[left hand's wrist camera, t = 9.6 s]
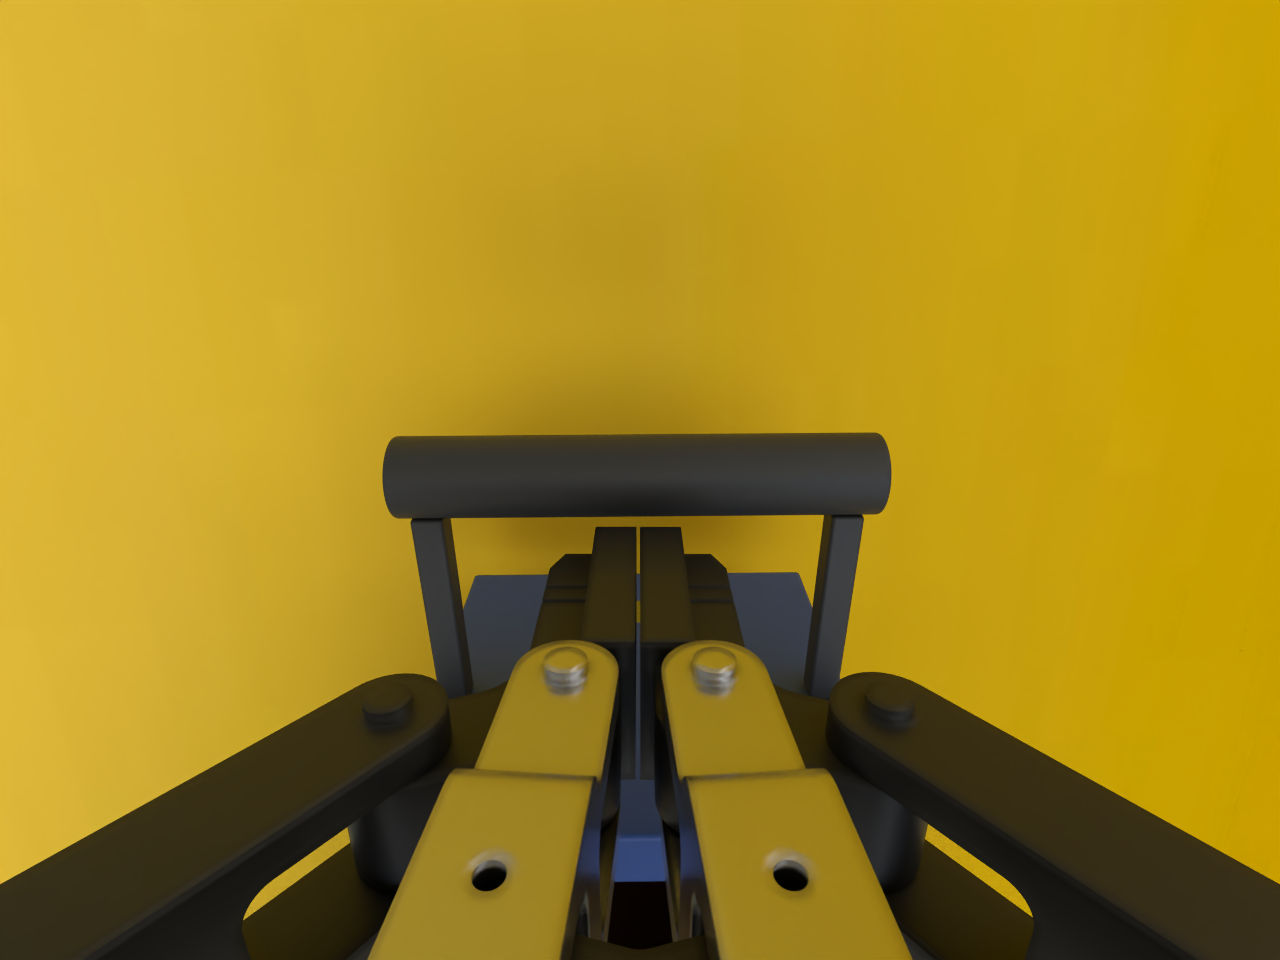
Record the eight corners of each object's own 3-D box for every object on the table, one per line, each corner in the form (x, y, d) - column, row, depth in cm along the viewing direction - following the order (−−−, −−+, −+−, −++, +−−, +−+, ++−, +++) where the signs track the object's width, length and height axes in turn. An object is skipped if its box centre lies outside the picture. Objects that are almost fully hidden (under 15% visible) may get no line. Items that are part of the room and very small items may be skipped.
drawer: (448, 365, 16) (301, 538, 9) (822, 362, 16) (974, 532, 9) (523, 956, 26) (481, 1266, 19) (756, 953, 26) (803, 1260, 19)
